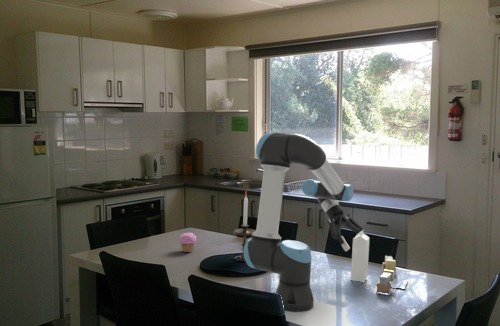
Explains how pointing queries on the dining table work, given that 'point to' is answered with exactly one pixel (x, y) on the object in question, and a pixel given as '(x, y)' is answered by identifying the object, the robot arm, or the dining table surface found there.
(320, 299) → the dining table surface
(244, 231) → the candlestick
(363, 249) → the milk
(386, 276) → the shaft rig
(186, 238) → the cupcake
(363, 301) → the dining table surface
